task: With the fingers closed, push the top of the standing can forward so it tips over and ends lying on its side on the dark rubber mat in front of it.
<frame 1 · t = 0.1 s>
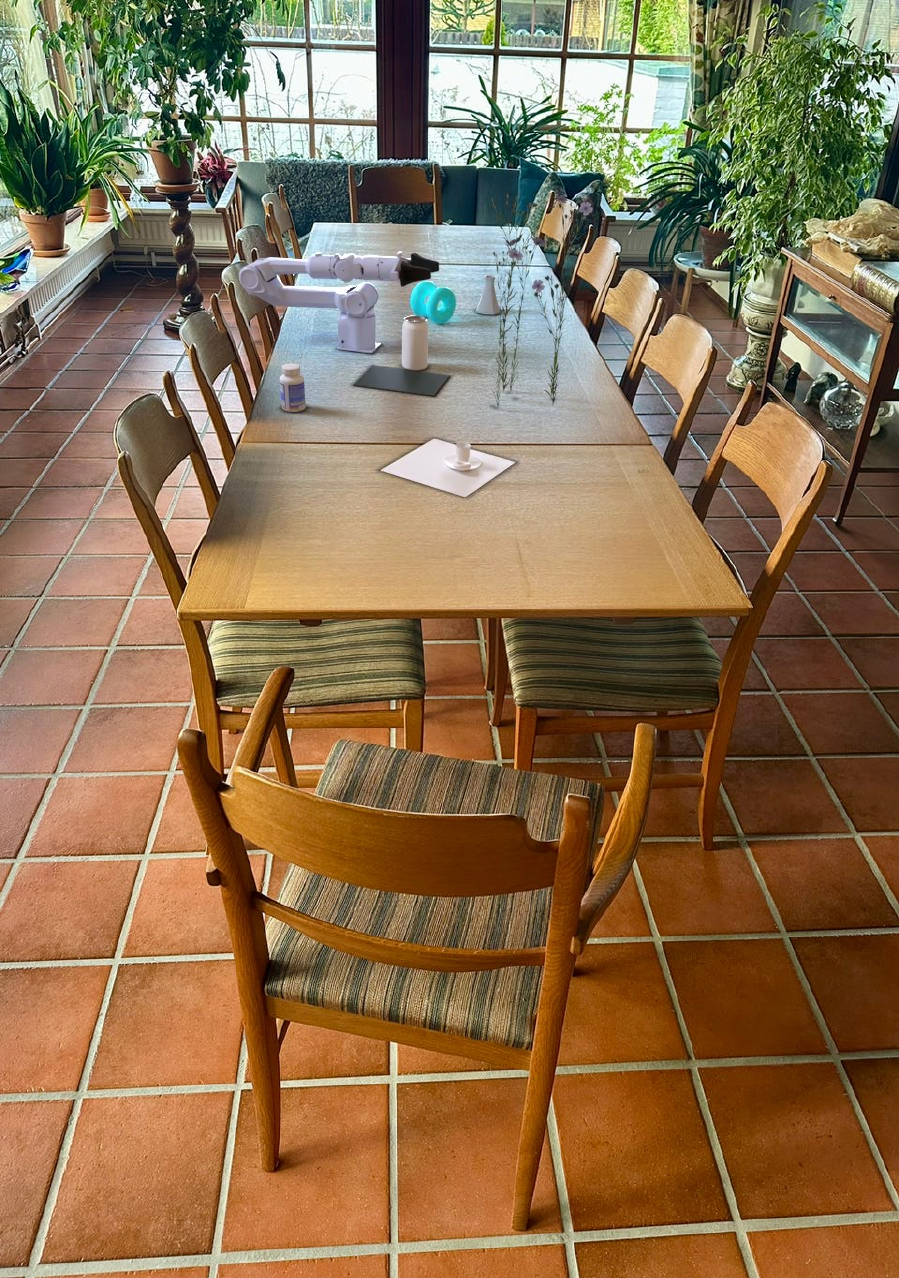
hand: (434, 270, 243), 22 cm above the table, tool horizontal, fingers open, 7 cm apart
wildflower: (525, 401, 233), on the table
pill bottle: (293, 408, 223), on the table
can: (414, 367, 249), on the table
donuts: (432, 320, 281), on the table
flask: (487, 312, 290), on the table
mat: (402, 380, 240), on the table
teacup and saucer: (448, 467, 201), on the table
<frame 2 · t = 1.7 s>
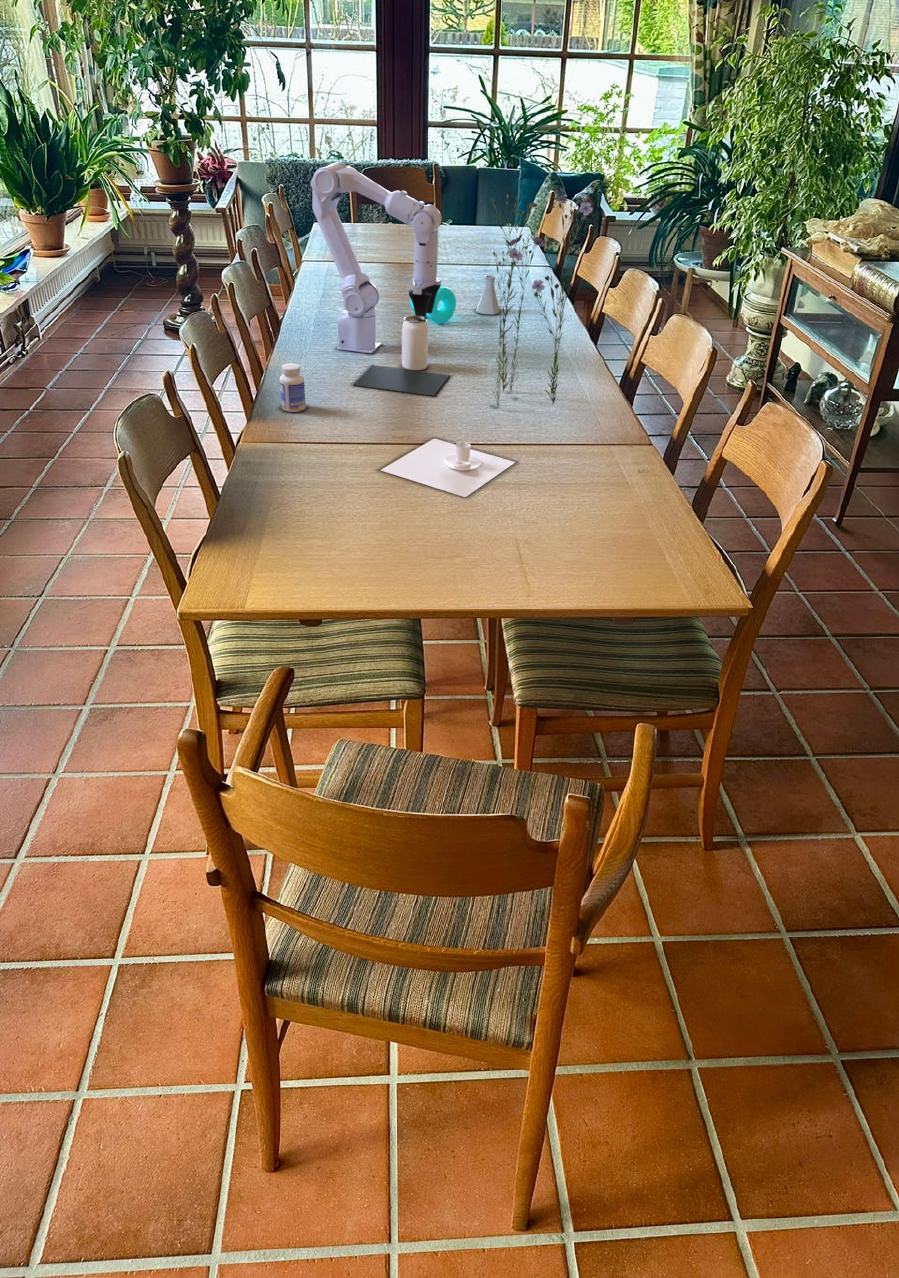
hand: (424, 316, 249), 10 cm above the table, tool pointing down, fingers open, 6 cm apart
nothing on the table moved.
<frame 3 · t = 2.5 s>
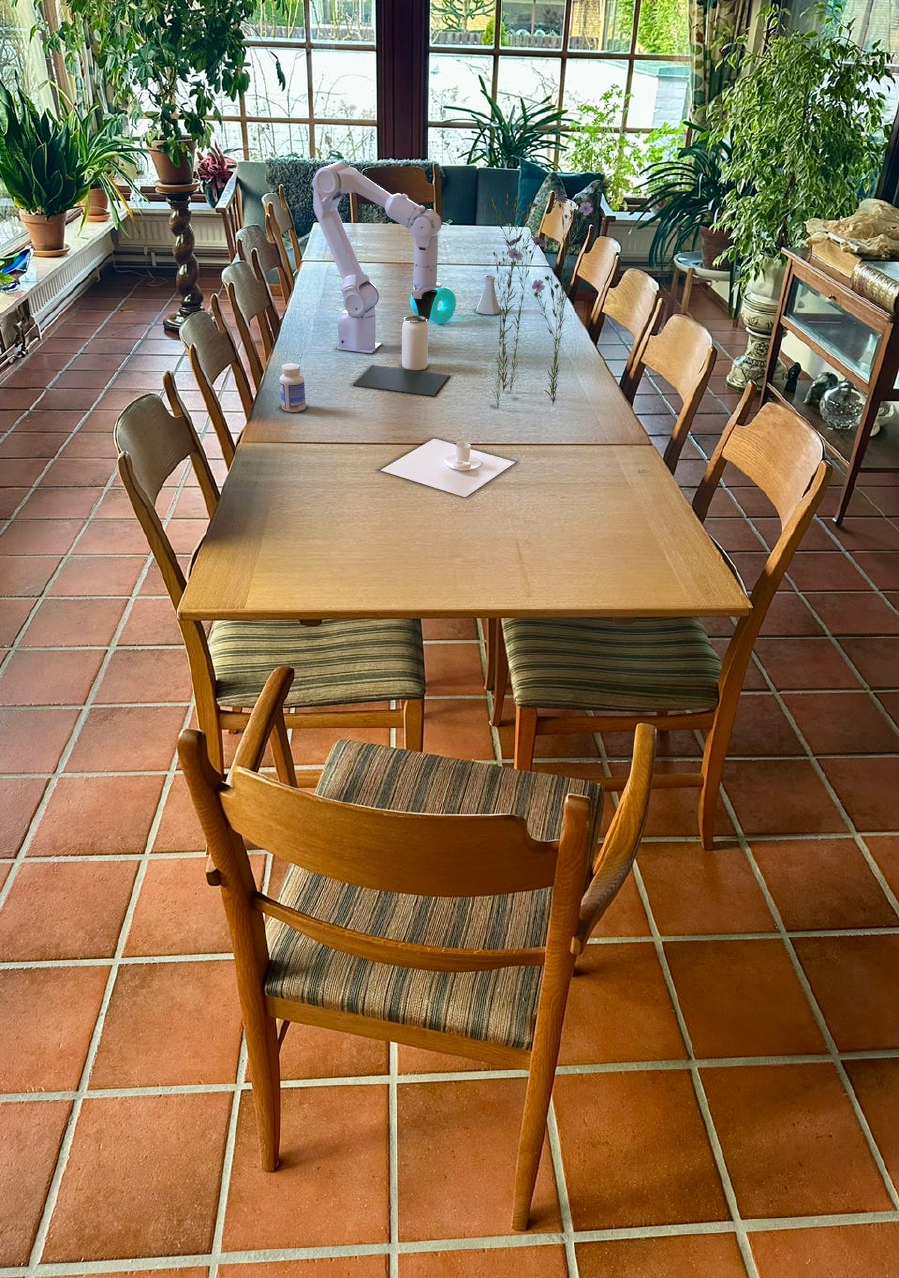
hand: (424, 320, 250), 9 cm above the table, tool pointing down, fingers closed
nothing on the table moved.
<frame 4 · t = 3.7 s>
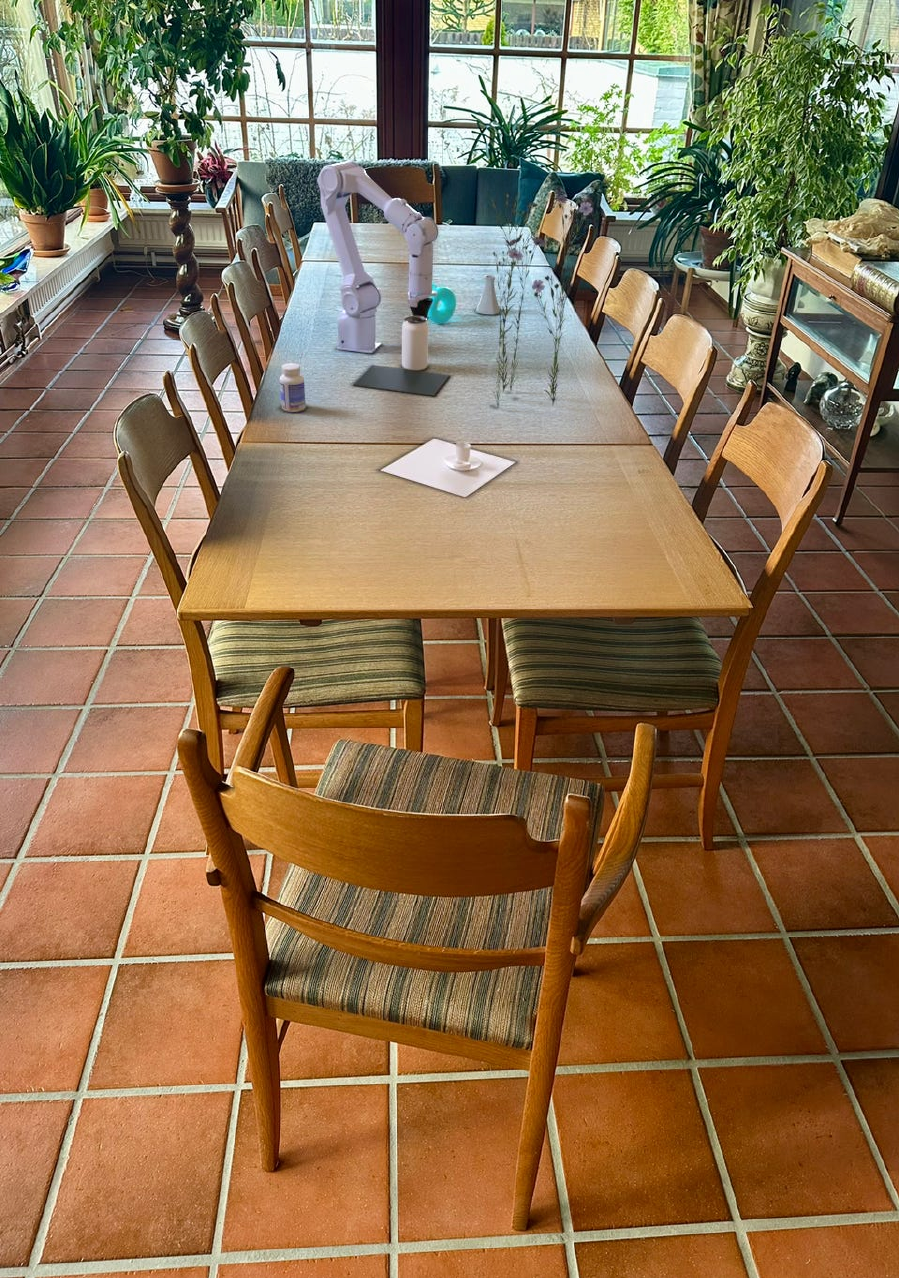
hand: (419, 328, 247), 9 cm above the table, tool pointing down, fingers closed
can: (414, 367, 249), on the table, touching gripper
everything else where it was.
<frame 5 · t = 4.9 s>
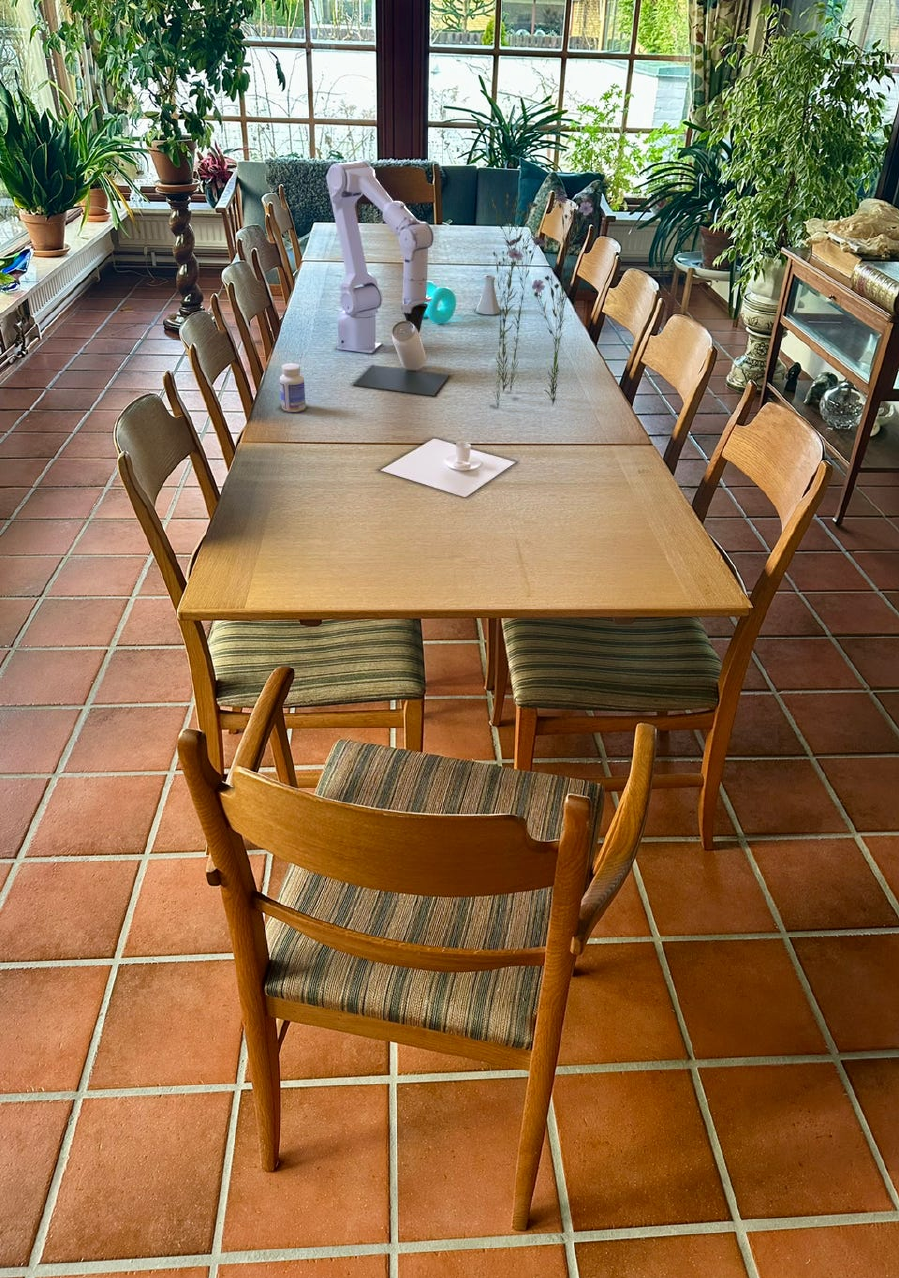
hand: (414, 334, 243), 8 cm above the table, tool pointing down, fingers closed
can: (413, 360, 247), point 2 cm above the table, touching gripper
everything else where it was.
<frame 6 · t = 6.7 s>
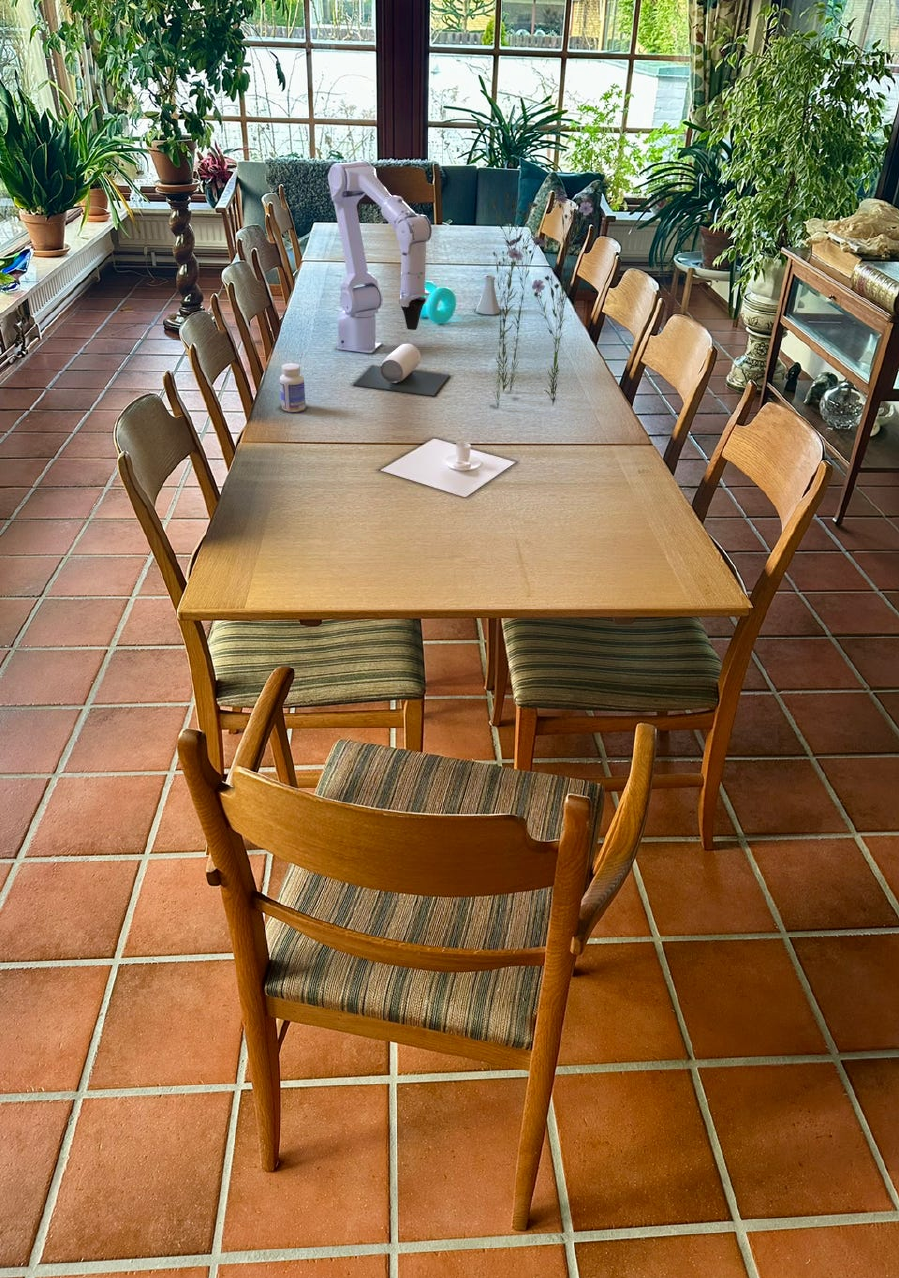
hand: (412, 328, 241), 10 cm above the table, tool pointing down, fingers closed
can: (408, 355, 245), point 4 cm above the table, touching mat
everything else where it was.
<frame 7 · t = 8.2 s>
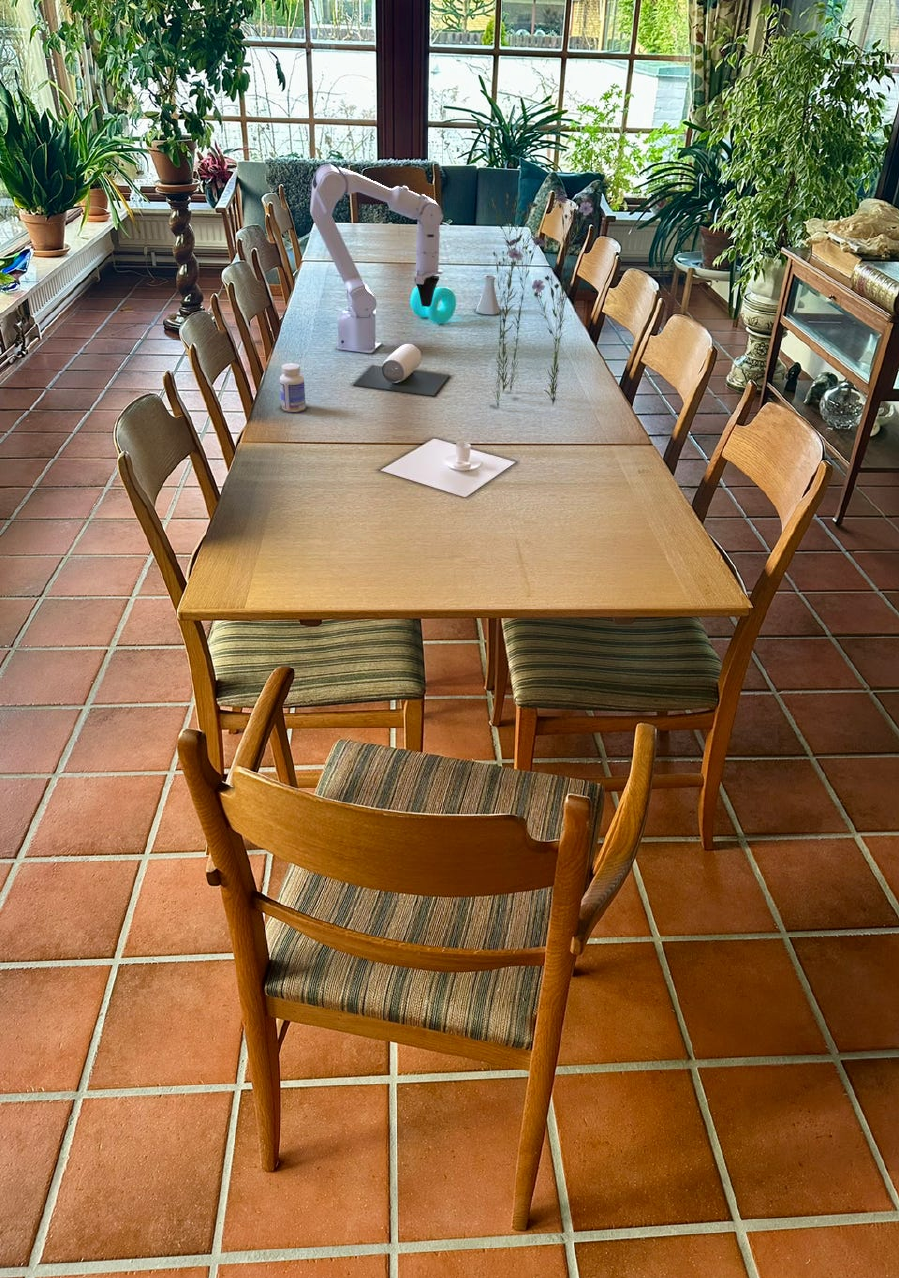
hand: (426, 305, 257), 10 cm above the table, tool pointing down, fingers closed
nothing on the table moved.
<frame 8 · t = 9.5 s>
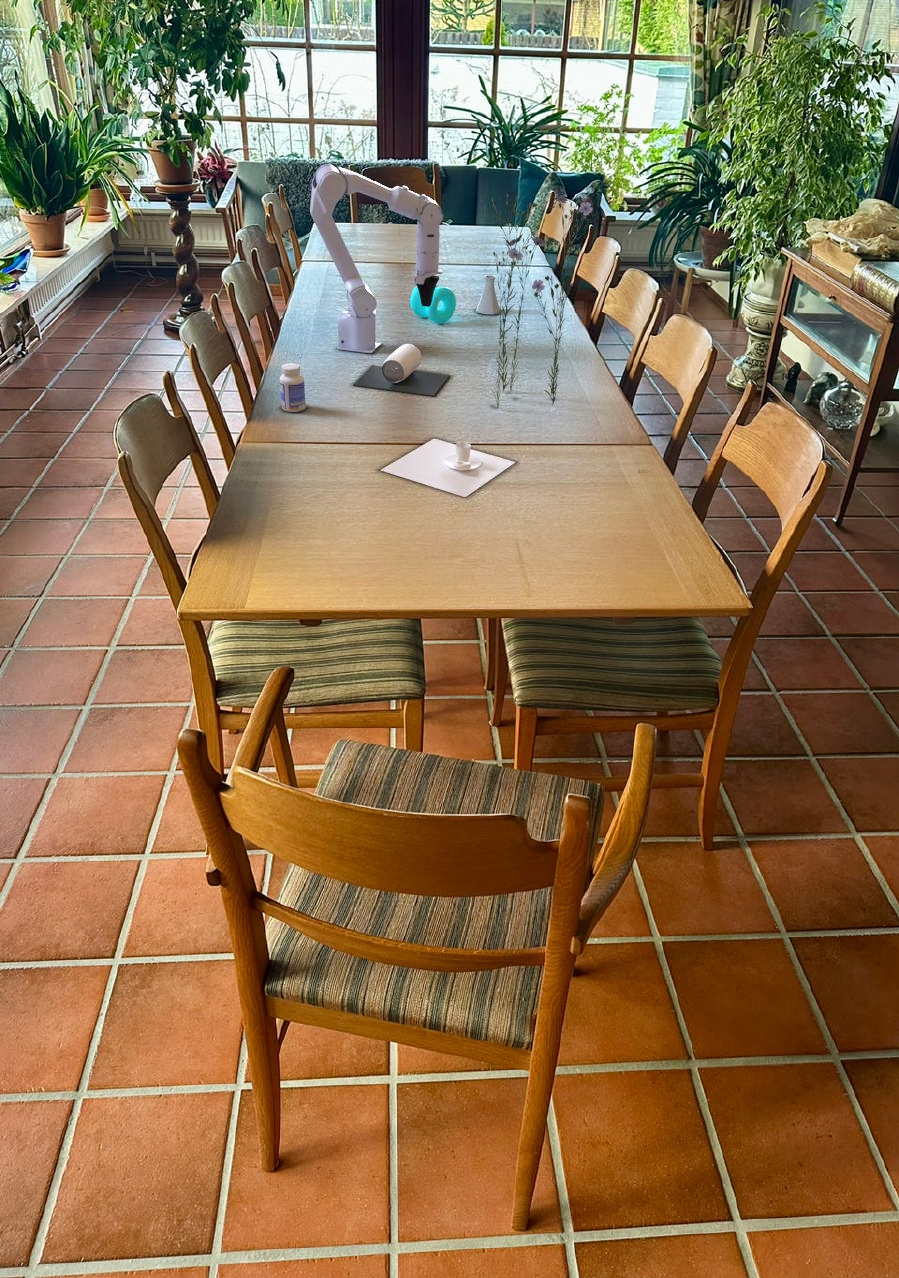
hand: (426, 305, 257), 10 cm above the table, tool pointing down, fingers closed
nothing on the table moved.
at the end: can tilted 90°; can touching mat; the gripper is holding nothing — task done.
